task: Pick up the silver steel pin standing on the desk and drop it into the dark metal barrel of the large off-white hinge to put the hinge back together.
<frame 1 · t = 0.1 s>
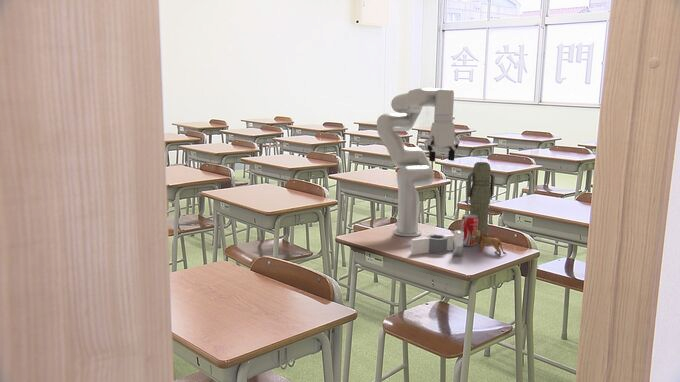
hand: (441, 160, 236), 37 cm above the table, tool pointing down, fingers open, 9 cm apart
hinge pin: (457, 255, 229), on the table
hinge: (436, 251, 235), on the table
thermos: (477, 241, 252), on the table
lion figurine: (487, 253, 234), on the table
soda can: (468, 245, 245), on the table
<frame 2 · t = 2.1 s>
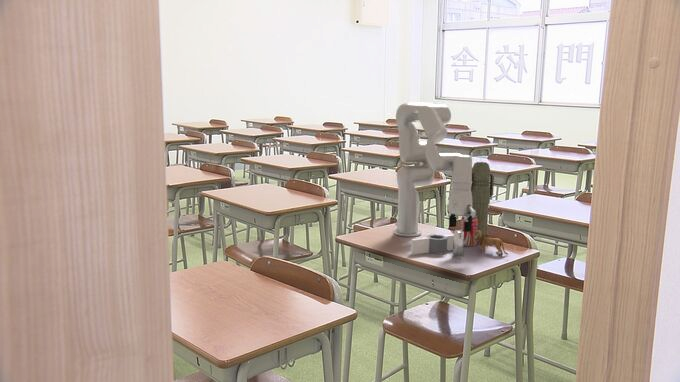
hand: (459, 229, 226), 11 cm above the table, tool pointing down, fingers open, 9 cm apart
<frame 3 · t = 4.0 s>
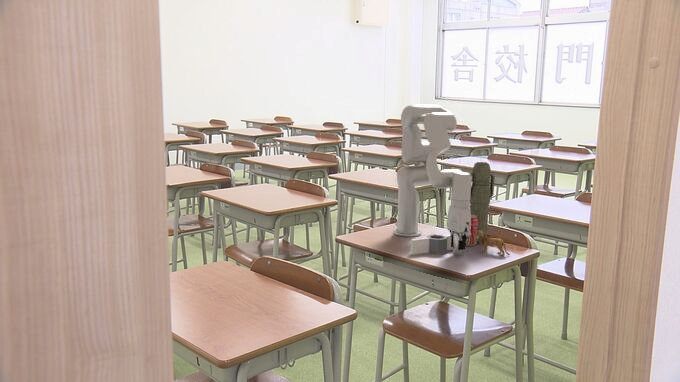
hand: (458, 247, 228), 3 cm above the table, tool pointing down, fingers closed on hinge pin, 4 cm apart
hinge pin: (457, 255, 229), on the table, touching gripper
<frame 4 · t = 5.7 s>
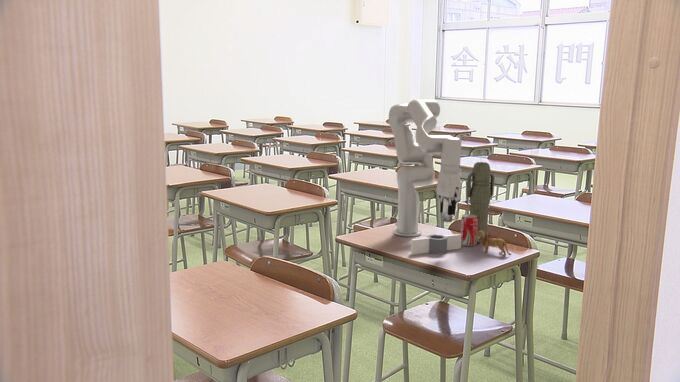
hand: (447, 213, 229), 17 cm above the table, tool pointing down, fingers closed on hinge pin, 4 cm apart
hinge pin: (447, 221, 230), point 13 cm above the table, touching gripper
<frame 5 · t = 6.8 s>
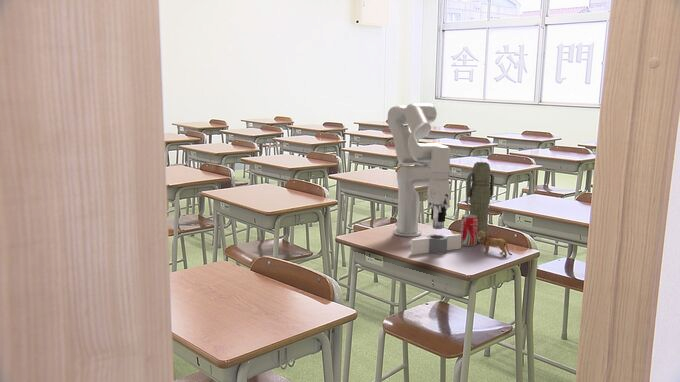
hand: (438, 220, 232), 13 cm above the table, tool pointing down, fingers closed on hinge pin, 4 cm apart
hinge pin: (437, 228, 233), point 10 cm above the table, touching gripper
when the fingers open (11 cm above the table, at t = 7.5 s): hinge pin drops 7 cm, resting in hinge.
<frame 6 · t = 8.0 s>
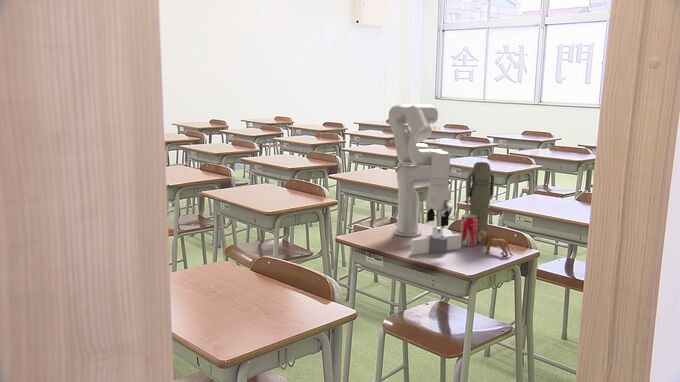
hand: (437, 223, 233), 12 cm above the table, tool pointing down, fingers open, 9 cm apart
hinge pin: (436, 251, 235), resting in hinge
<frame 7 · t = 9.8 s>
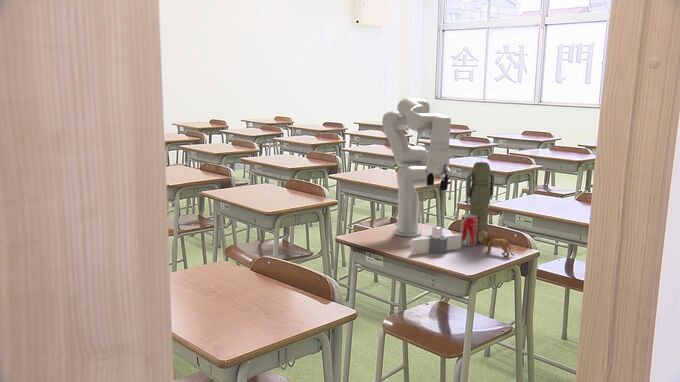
hand: (436, 187, 234), 26 cm above the table, tool pointing down, fingers open, 9 cm apart
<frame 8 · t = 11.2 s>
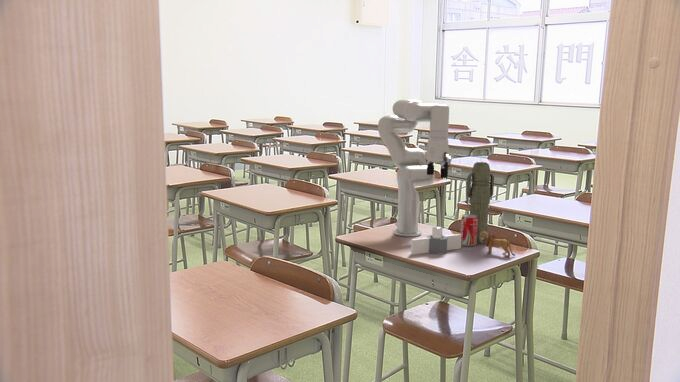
hand: (437, 176, 236), 30 cm above the table, tool pointing down, fingers open, 9 cm apart
at the end: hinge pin 0.0 cm off-centre on the hinge, point 0.0 cm above the hinge's base; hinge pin tilted 0°; the gripper is holding nothing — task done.
